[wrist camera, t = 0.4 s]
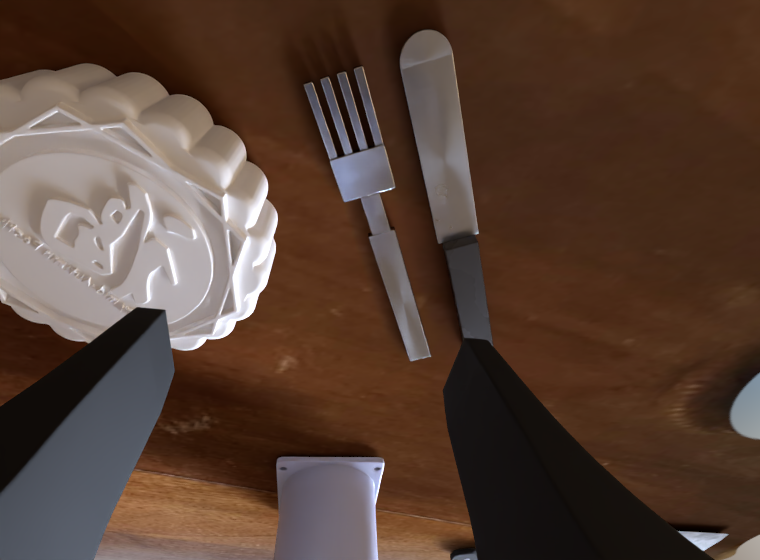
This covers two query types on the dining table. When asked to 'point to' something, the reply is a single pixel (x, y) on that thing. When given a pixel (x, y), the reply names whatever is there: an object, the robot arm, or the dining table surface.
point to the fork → (370, 197)
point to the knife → (446, 171)
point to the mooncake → (126, 207)
